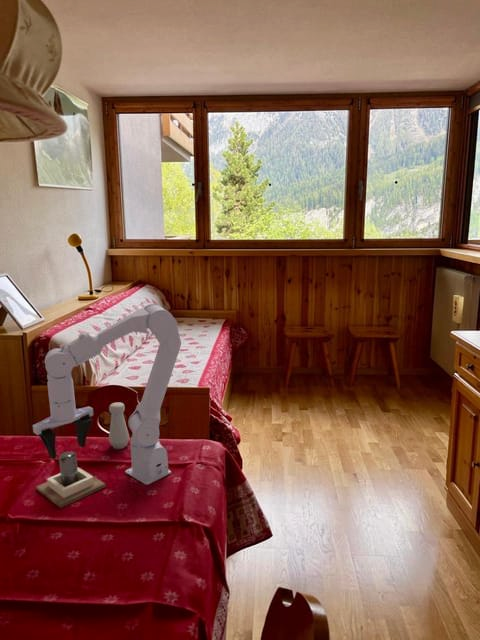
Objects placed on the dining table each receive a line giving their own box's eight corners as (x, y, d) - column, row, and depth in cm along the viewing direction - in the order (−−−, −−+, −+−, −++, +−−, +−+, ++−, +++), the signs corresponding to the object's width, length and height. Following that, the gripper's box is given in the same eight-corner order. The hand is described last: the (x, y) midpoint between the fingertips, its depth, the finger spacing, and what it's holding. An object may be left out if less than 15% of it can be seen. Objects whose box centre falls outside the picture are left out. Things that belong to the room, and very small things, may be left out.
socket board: (105, 486, 125) (104, 476, 124) (60, 508, 116) (59, 497, 115) (80, 470, 133) (79, 460, 132) (36, 489, 124) (35, 479, 123)
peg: (81, 484, 124) (78, 455, 122) (66, 491, 122) (62, 461, 120) (74, 478, 127) (71, 449, 125) (59, 484, 124) (56, 455, 123)
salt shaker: (127, 450, 143) (124, 407, 140) (107, 450, 143) (103, 408, 140) (131, 441, 149) (129, 400, 146) (112, 441, 149) (109, 400, 146)
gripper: (80, 386, 127) (85, 436, 130) (24, 403, 117) (30, 457, 120) (96, 393, 122) (100, 444, 125) (38, 411, 112) (45, 467, 115)
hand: (67, 451), depth 122 cm, fingers open, 7 cm apart
